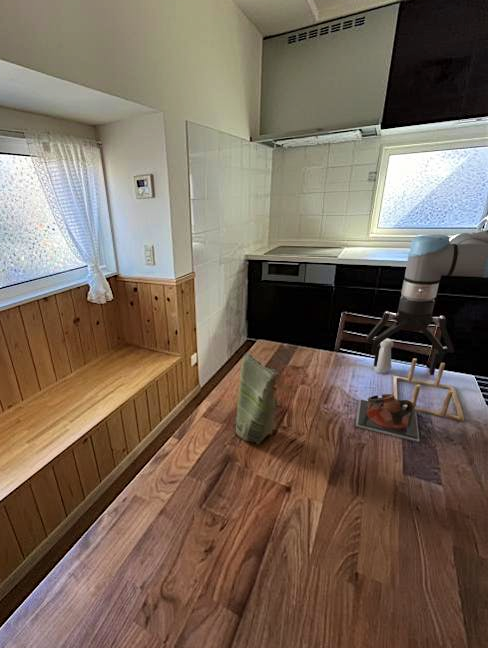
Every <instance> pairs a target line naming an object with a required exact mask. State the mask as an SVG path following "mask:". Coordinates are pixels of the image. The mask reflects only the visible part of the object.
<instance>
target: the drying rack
mask: <svg viewBox="0 0 488 648" xmlns="http://www.w3.org/2000/svg"><path fill="white" fill-rule="evenodd" d="M417 361H418V359H417V358H415V357H413V358H412V360H411V365H410V369H409V373H408V377H404V376H397V375H393V376H392V380H393V381H392V382H393V383H392V385H393V386H392V387H393V388H392V389H393V395H394V397H395V399H397V400H399V399H398V381H402V382H408V383H413V384H415V387H414V391H413V394H412V397H411V402H412V404H413V410H412V411H415V412H419V413H424V414H428V415H432V416H437V417H442V418H447V419H451V420H457V421H462V422H464V421H465V417H464V413H463V410H462V407H461V404H460V400H459V396H458V394H457V390H456V387H455V386H453V385H447V384H442V383H441V379H442V376H443V372H444V369H445V366H446V363H445V362H442V363H441V364H439V368H438V372H437V375H436V379H435V382H432V381H431V382H430V381H425V380H420V379H415V378H413V376H414V373H415V370H416V366H417ZM421 385H424V386H430V387H435V388H440V389H441V388H442V389H447V393H446V396H445V399H444V402H443V406H442V408H441V411H436V410H431V409H427V408H422V407H416V404H417V400H418V397H419V393H420V390H421ZM451 399H453V402H454V406H455V410H456V413H457V415H455V414H451V413H447V412H448V409H449V407H450V403H451ZM402 408H403V409H406V408H407V404H405V405H403V406H402Z"/></svg>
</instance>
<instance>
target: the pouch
mask: <svg viewBox="0 0 488 648" xmlns="http://www.w3.org/2000/svg"><path fill="white" fill-rule="evenodd" d="M261 362H262V360H261V359H260V360H257V359H256V358H255V356H253V355H251V354H250V353H247V352H244V354H243V356H242V361H241V366H240V371H239V388H238V396H237V397H238V398H237V406H236V407H237V408H236V420H235V432H236V435H237V436H238V437H239V438H240V439H241V440H243V441H245V442H252V443H256V444H257V445H260V444H261V442H263V440H264V439H265V438H266V437H267V436H269V435H273V431H274V422H275V413H274V411H275V410H274V409H275V408H276V407H277V405H278V397H276V396H275V395H274V392H275V391H276V390H277V388H276V387H275V382H276V381H277V379H276V377H277V376H278V374H279V373H278V371H277V370H276V369H273V368H269V367H268V365H263V364H261Z"/></svg>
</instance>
